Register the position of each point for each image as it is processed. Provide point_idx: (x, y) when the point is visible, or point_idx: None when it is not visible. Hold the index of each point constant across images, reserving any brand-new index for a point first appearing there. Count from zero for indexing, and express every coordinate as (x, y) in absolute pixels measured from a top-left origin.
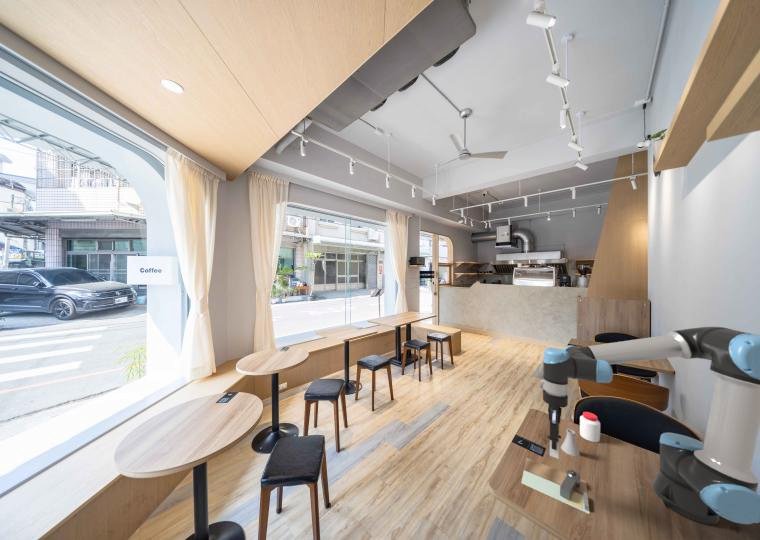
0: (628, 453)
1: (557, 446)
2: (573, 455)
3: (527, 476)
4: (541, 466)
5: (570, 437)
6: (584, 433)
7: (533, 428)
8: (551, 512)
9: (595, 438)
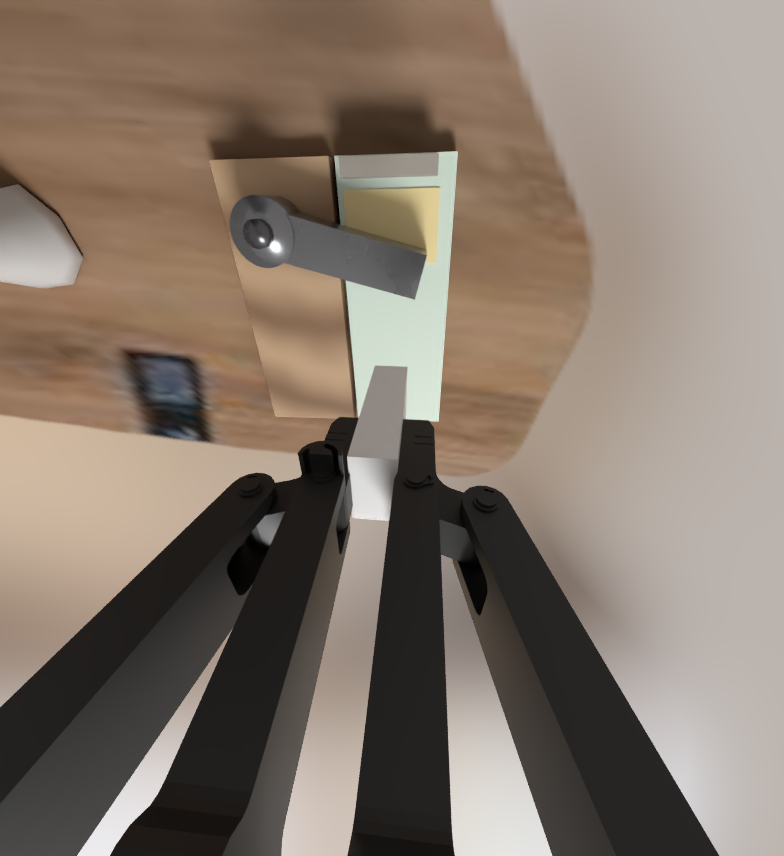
0: None
1: (401, 428)
2: (46, 225)
3: None
4: (282, 364)
5: None
6: None
7: (34, 399)
8: (513, 315)
9: None
